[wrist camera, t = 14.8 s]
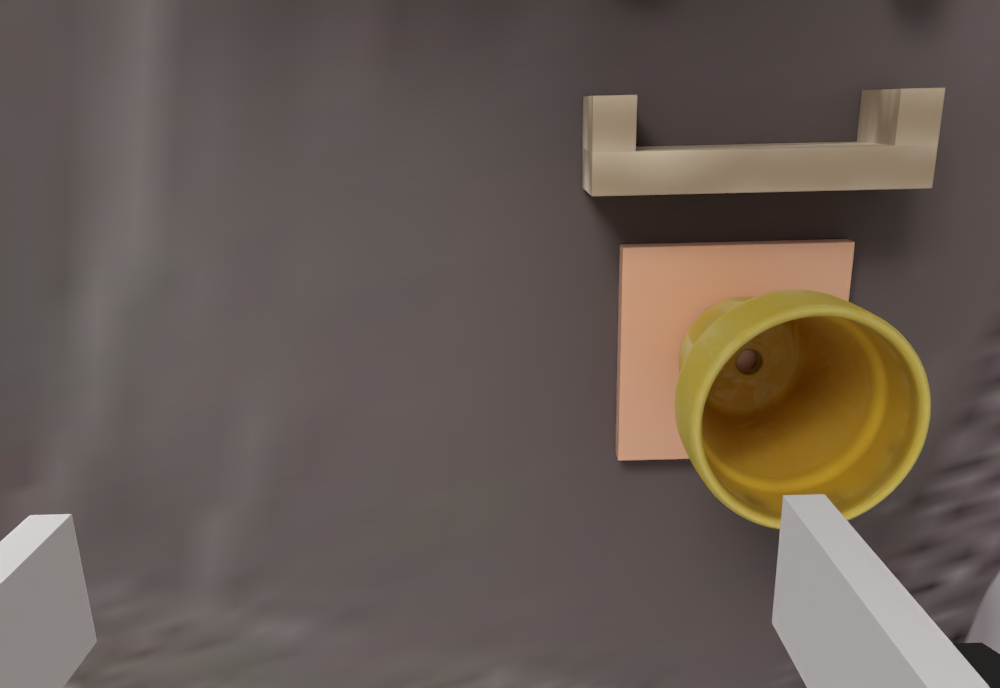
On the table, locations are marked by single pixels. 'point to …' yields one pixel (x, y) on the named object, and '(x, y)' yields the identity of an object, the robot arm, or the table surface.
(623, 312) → the tile
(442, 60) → the table surface
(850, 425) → the plant pot
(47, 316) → the table surface
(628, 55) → the table surface
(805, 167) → the flower pot holder
